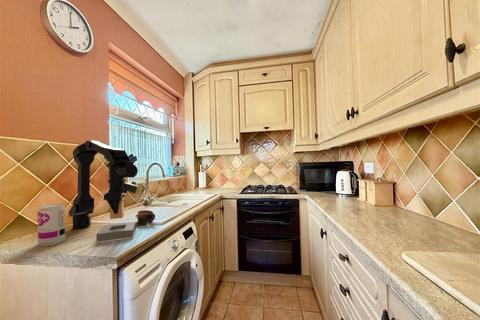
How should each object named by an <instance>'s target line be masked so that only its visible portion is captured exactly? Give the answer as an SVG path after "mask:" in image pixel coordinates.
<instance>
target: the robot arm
mask: <svg viewBox="0 0 480 320" xmlns="http://www.w3.org/2000/svg"><path fill="white" fill-rule="evenodd" d="M97 154H100V155H101V156H104V157H103V158H104V160H106V162H108V163H107V164H106V166H105V167H106V168H108V180H107V183H108V190H107V192H106V193H105V194H103V201H106V202H107V203H108V205H109V208H110V207H111V208H112V210H113V212H114V214H117V213H118V209H119V203H120V201H121V200H123V199H124V198H125V197H126V196H127V194H128V193H129V192H131V193H133V194H136V193H137V191H138V189H139V185H138V184H137V182H136V181H132V182H127V181H126V178H132V179H133V178H135V177H136V176H137V175H138V173H139V169H138V167H137V166H136V164H134V161H131V159H130V157H129V155H128V153H127V152H126V150H125V149H124V148H117V147H111V146H109V145H107V144H104V143H102V142H100V141H98V140H89V139H88V140H86V141H85V142H84V143H81V144H79V145H77V146H76V147H75V148H74V149H73V151H72V156H73V160H74V162H75V163H76V165H77V194H76V196H75V198H74V199H73V201H72V205H71V206H70V208H69V211H68V217H71V218H72V227H71V230H77V229H87V228H88V227H90V226H91V224H92V216H91V215H90V214H93V213H94V210H95V198H94V197H92V196H91V193H90V192H91V191H90V189H91V188H90V187H91V165H92V164H93V162H94V161H95V156H96V155H97Z"/></svg>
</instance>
